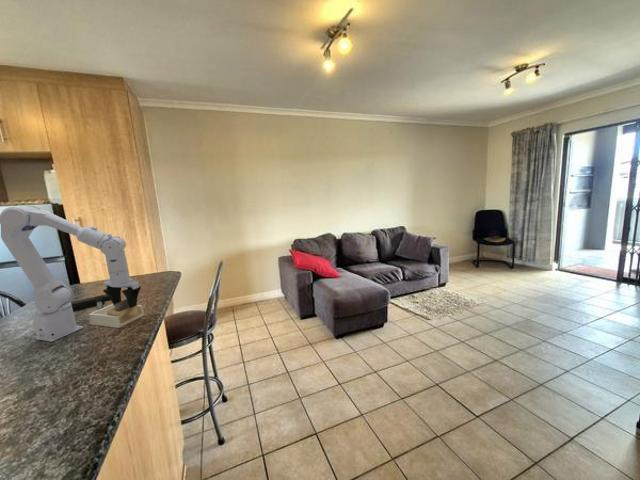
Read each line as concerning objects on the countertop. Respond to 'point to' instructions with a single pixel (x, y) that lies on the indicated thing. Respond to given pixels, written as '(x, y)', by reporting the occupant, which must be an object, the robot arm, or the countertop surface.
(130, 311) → the tan block with handle
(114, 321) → the bay
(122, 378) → the countertop surface
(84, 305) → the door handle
